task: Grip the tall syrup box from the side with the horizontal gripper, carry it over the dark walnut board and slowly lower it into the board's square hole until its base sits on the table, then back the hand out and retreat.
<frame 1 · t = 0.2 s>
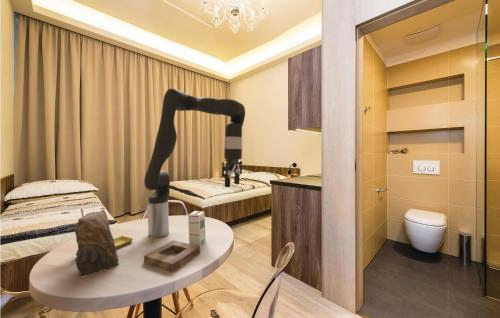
hand: (232, 185, 88), 28 cm above the table, tool pointing down, fingers open, 8 cm apart
hole board: (173, 257, 83), on the table
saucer: (119, 245, 97), on the table
owl: (99, 266, 78), on the table
beverage cup: (86, 255, 87), on the table
syrup box: (197, 243, 97), on the table
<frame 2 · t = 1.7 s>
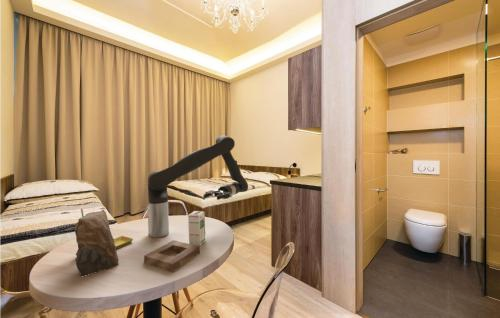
hand: (210, 197, 106), 20 cm above the table, tool horizontal, fingers open, 8 cm apart
nothing on the table moved.
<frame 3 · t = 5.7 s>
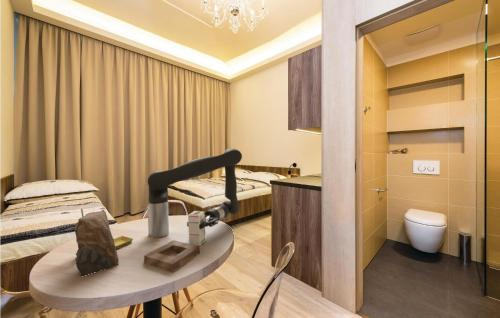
hand: (193, 225, 95), 9 cm above the table, tool horizontal, fingers closed on syrup box, 6 cm apart
syrup box: (197, 243, 97), on the table, touching gripper
everything else where it was.
when the fingers open (9 cm above the table, at t = 11.3 s): syrup box stays where it is, resting in hole board.
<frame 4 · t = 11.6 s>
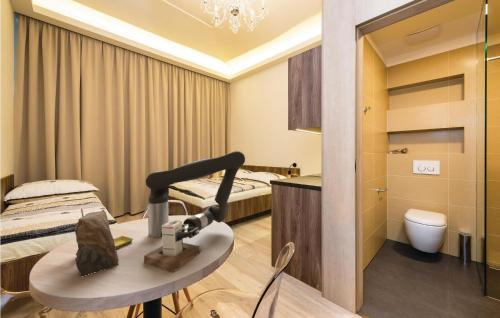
hand: (168, 236, 81), 9 cm above the table, tool horizontal, fingers open, 8 cm apart
syrup box: (173, 258, 84), resting in hole board
everything else where it was.
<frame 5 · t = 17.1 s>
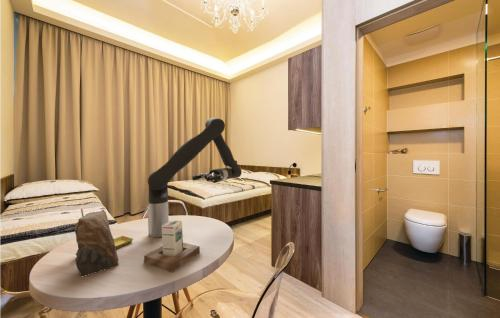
hand: (199, 178, 100), 30 cm above the table, tool horizontal, fingers open, 8 cm apart
nothing on the table moved.
at the end: syrup box 0.1 cm off-centre on the hole board, point 0.0 cm above the hole board's base; syrup box tilted 0°; the gripper is holding nothing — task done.
